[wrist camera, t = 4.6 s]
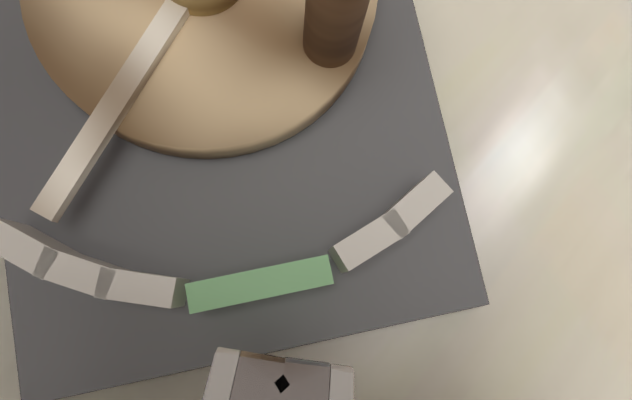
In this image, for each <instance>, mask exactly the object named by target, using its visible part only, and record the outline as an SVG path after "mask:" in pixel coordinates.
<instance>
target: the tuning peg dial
mask: <svg viewBox="0 0 632 400" xmlns="http://www.w3.org/2000/svg"><path fill="white" fill-rule="evenodd" d="M19 1H20V7H21V13H22V19H23V22H24V25H25V28H26V32H27V35H28V38H29V41H30V43H31V45H32V47H33V49H34V51H35V53H36V55H37V57H38V59H39V61H40V62H41V64H42V65H43V67H44V68H45V70H46V71H47V73H48V74H49V76H50V77H51V79H52V80H53V81H54V82H55V83H56V84H57V85H58V87H59V88H60V89H61V90H62V91H63V92H64V93H65V94H66V95H67V97H69V98H70V99H71V100H72V101H73V102H74V103H75V104H77V105H78V106H79V107H80V108H81V109H82V110H83V111H85V112H86V113H87V114H88V115H89V116H90V117H89V118H88V120H87V121H86V123H85V125H84V126H83V128H82V129H81V131H80V132H79V134H78V135H77V137H76V138H75V140H74V141H73V143H72V145H71V146H70V148H69V149H68V151H67V152H66V154H65V155H64V157H63V158H62V160H61V161H60V163H59V165H58V166H57V168H56V169H55V171H54V172H53V174H52V175H51V177H50V178H49V180H48V181H47V183H46V185H45V186H44V188H43V189H42V191H41V192H40V194H39V195H38V197H37V198H36V200H35V201H34V203H33V205H32V206H31V208H30V210H32V211H34V212H35V213H37V214H39V215H41V216H43V217H44V218H46V219H48V220H50V221H52V222H56V223H58V221H59V220H60V218H61V217H62V215H63V214H64V212H65V210H66V209H67V207H68V206H69V204H70V203H71V201H72V199H73V198H74V196H75V195H76V193H77V192H78V190H79V188H80V187H81V185H82V184H83V182H84V181H85V179H86V177H87V176H88V174H89V173H90V171H91V170H92V168H93V166H94V165H95V163H96V162H97V160H98V159H99V157H100V155H101V154H102V152H103V151H104V149H105V148H106V146H107V144H108V143H109V141H110V140H111V138H112V137H113V135H114V134H115V135H117V136H118V137H120V138H122V139H124V140H126V141H128V142H131V143H133V144H135V145H137V146H139V147H142V148H145V149H148V150H151V151H154V152H158V153H161V154H165V155H171V156H176V157H182V158H195V159H216V158H229V157H235V156H240V155H245V154H249V153H254V152H257V151H260V150H262V149H265V148H268V147H271V146H274V145H276V144H278V143H280V142H282V141H284V140H286V139H288V138H290V137H292V136H294V135H296V134H297V133H299V132H300V131H302V130H303V129H305V128H306V127H308V126H309V125H311V124H312V123H313V122H315V121H316V120H317V119H318V118H319V117H320V116H321V115H322V114H324V113H325V112H326V111H327V110H328V109H329V108H330V107H331V106H332V105H333V103H334V102H335V101H336V100H337V99H338V98H339V97H340V95H341V94H342V93H343V91H344V90H345V88H346V87H347V85H348V84H349V82H350V81H351V79H352V78H353V76H354V74H355V72H356V70H357V68H358V66H359V63H360V61H361V59H362V57H363V54H364V51H365V48H366V45H367V42H368V39H369V36H370V32H371V29H372V26H373V23H374V19H375V15H376V8H377V2H378V0H19Z"/></svg>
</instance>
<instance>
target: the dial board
mask: <svg viewBox="0 0 632 400" xmlns="http://www.w3.org/2000/svg"><path fill="white" fill-rule="evenodd" d="M89 117H90V116H89V115H88V114H87V113H86V112H85V111H83V110H82V109H81V108H80V107H79V106H78V105H77V104H75V103H74V102H73V101H72V100H71V99H70V98H69V97H67V95H66V94H65V93H64V92H63V91H62V90H61V89H60V88H59V87H58V85H57V84H56V83H55V82H54V81H53V80H52V79H51V77H50V76H49V74H48V73H47V71H46V70H45V68H44V67H43V65H42V64H41V62H40V61H39V59H38V57H37V55H36V53H35V51H34V49H33V47H32V45H31V43H30V41H29V38H28V35H27V32H26V28H25V25H24V22H23V19H22V13H21V7H20V1H19V0H0V257H2V258H3V259H5V267H6V276H7V284H8V293H9V301H10V310H11V318H12V327H13V335H14V343H15V352H16V360H17V369H18V377H19V386H20V394H21V400H56V399H61V398H65V397H70V396H74V395H79V394H83V393H88V392H93V391H97V390H102V389H106V388H111V387H115V386H120V385H124V384H129V383H134V382H138V381H143V380H147V379H152V378H156V377H161V376H165V375H170V374H174V373H179V372H184V371H188V370H193V369H197V368H202V367H206V366H211V365H212V362H213V358H214V354H215V352H216V350H217V348H218V347H223V348H230V349H236V350H242V351H248V352H253V353H259V354H265V353H270V352H275V351H279V350H284V349H288V348H293V347H297V346H302V345H306V344H311V343H316V342H320V341H325V340H329V339H334V338H338V337H343V336H347V335H352V334H356V333H361V332H366V331H370V330H375V329H379V328H384V327H388V326H393V325H397V324H402V323H407V322H411V321H416V320H420V319H425V318H429V317H434V316H438V315H443V314H447V313H452V312H457V311H461V310H466V309H470V308H475V307H479V306H484V305H488V304H489V301H488V297H487V293H486V289H485V285H484V281H483V277H482V273H481V269H480V265H479V261H478V257H477V253H476V249H475V245H474V241H473V237H472V233H471V229H470V226H469V222H468V218H467V214H466V210H465V206H464V202H463V198H462V194H461V190H460V186H459V182H458V178H457V174H456V170H455V166H454V162H453V158H452V154H451V150H450V146H449V142H448V138H447V134H446V130H445V126H444V122H443V118H442V114H441V110H440V106H439V102H438V98H437V95H436V91H435V87H434V83H433V79H432V75H431V71H430V67H429V63H428V59H427V55H426V51H425V47H424V43H423V39H422V35H421V31H420V27H419V23H418V19H417V15H416V11H415V7H414V3H413V0H378V2H377V8H376V15H375V19H374V23H373V26H372V29H371V32H370V36H369V39H368V42H367V45H366V48H365V51H364V54H363V57H362V59H361V61H360V63H359V66H358V68H357V70H356V72H355V74H354V76H353V78H352V79H351V81H350V82H349V84H348V85H347V87H346V88H345V90H344V91H343V93H342V94H341V95H340V97H339V98H338V99H337V100H336V101H335V102H334V103H333V105H332V106H331V107H330V108H329V109H328V110H327V111H326V112H325V113H324V114H322V115H321V116H320V117H319V118H318V119H317V120H316V121H315V122H313V123H312V124H311V125H309V126H308V127H306V128H305V129H303V130H302V131H300V132H299V133H297V134H296V135H294V136H292V137H290V138H288V139H286V140H284V141H282V142H280V143H278V144H276V145H274V146H271V147H268V148H265V149H262V150H260V151H257V152H254V153H249V154H245V155H240V156H235V157H229V158H216V159H195V158H182V157H176V156H171V155H165V154H161V153H158V152H154V151H151V150H148V149H145V148H142V147H139V146H137V145H135V144H133V143H131V142H128V141H126V140H124V139H122V138H120V137H118V136H117V135H115V134H114V135H113V137H112V138H111V140H110V141H109V143H108V144H107V146H106V148H105V149H104V151H103V152H102V154H101V155H100V157H99V159H98V160H97V162H96V163H95V165H94V166H93V168H92V170H91V171H90V173H89V174H88V176H87V177H86V179H85V181H84V182H83V184H82V185H81V187H80V188H79V190H78V192H77V193H76V195H75V196H74V198H73V199H72V201H71V203H70V204H69V206H68V207H67V209H66V210H65V212H64V214H63V215H62V217H61V218H60V220H59V221H58V223H56V222H52V221H50V220H48V219H46V218H44V217H43V216H41V215H39V214H37V213H35V212H34V211H32V210H30V208H31V206H32V205H33V203H34V201H35V200H36V198H37V197H38V195H39V194H40V192H41V191H42V189H43V188H44V186H45V185H46V183H47V181H48V180H49V178H50V177H51V175H52V174H53V172H54V171H55V169H56V168H57V166H58V165H59V163H60V161H61V160H62V158H63V157H64V155H65V154H66V152H67V151H68V149H69V148H70V146H71V145H72V143H73V141H74V140H75V138H76V137H77V135H78V134H79V132H80V131H81V129H82V128H83V126H84V125H85V123H86V121H87V120H88V118H89Z"/></svg>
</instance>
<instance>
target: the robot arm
mask: <svg viewBox="0 0 632 400" xmlns="http://www.w3.org/2000/svg"><path fill="white" fill-rule="evenodd" d="M202 400H354V369H353V367H350V366H342V365H335V364H330V363H326V362H318V361H311V360H303V359H296V358H288V357H285V358H282V357H276V356H270V355H265V354H259V353H253V352H248V351H242V350H236V349H230V348H223V347H218V348H217V350H216V352H215V354H214V358H213V362H212V365H211V369H210V373H209V376H208V380H207V384H206V387H205V391H204V394H203V398H202Z"/></svg>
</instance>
